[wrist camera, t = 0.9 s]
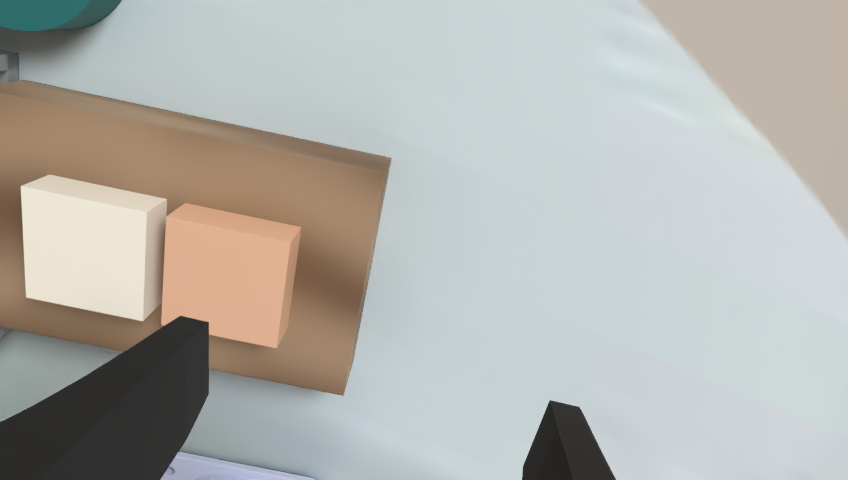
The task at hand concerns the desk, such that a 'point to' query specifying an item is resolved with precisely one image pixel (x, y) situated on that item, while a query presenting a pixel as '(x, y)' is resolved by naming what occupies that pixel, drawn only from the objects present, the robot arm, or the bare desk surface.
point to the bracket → (53, 13)
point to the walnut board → (208, 187)
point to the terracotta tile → (229, 273)
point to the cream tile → (93, 246)
